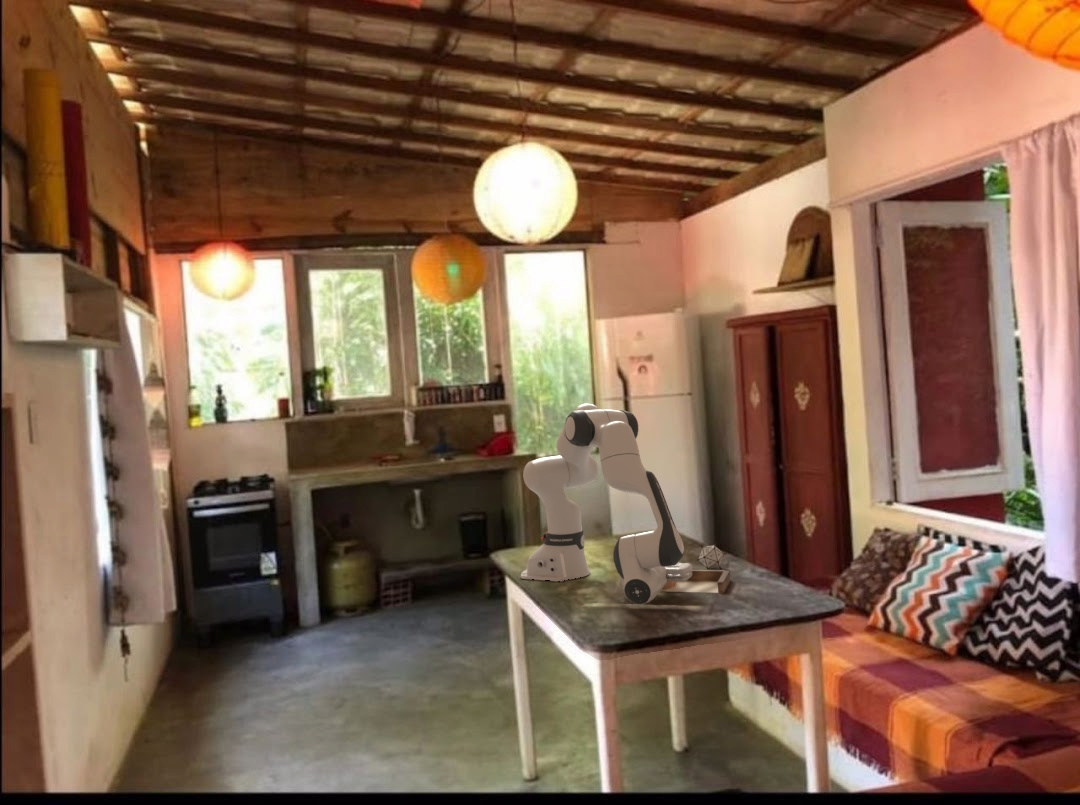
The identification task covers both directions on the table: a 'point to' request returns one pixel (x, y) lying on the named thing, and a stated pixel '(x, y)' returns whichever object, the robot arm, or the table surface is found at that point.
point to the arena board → (702, 582)
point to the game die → (711, 557)
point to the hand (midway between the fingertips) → (661, 564)
